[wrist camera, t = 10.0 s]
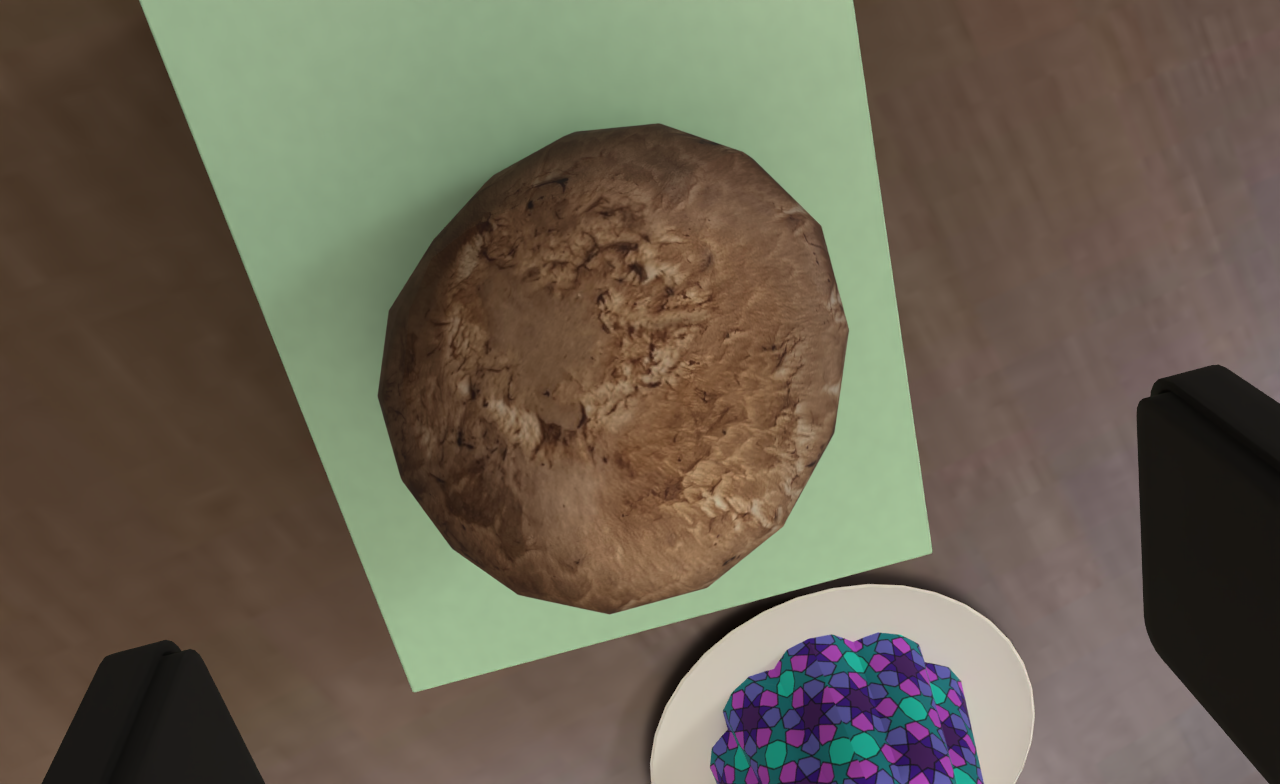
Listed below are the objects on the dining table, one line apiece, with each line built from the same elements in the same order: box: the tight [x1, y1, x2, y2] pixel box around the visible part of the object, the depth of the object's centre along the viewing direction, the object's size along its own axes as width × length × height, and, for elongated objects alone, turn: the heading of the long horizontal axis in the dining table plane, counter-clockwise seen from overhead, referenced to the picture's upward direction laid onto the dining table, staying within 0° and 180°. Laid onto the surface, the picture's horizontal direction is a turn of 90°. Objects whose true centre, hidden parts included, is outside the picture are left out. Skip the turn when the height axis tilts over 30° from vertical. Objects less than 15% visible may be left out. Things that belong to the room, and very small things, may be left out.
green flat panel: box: [139, 0, 932, 692], centre depth 22 cm, size 15×12×1 cm
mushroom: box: [378, 123, 849, 615], centre depth 19 cm, size 8×8×6 cm
